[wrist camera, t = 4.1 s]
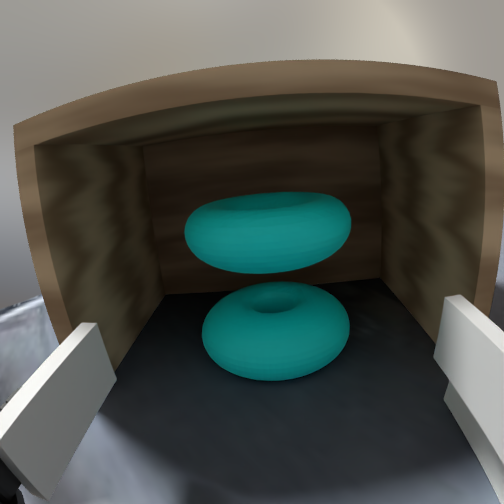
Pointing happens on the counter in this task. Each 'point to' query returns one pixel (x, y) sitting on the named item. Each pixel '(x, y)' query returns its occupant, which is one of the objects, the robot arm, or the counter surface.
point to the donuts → (272, 293)
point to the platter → (477, 440)
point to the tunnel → (263, 184)
